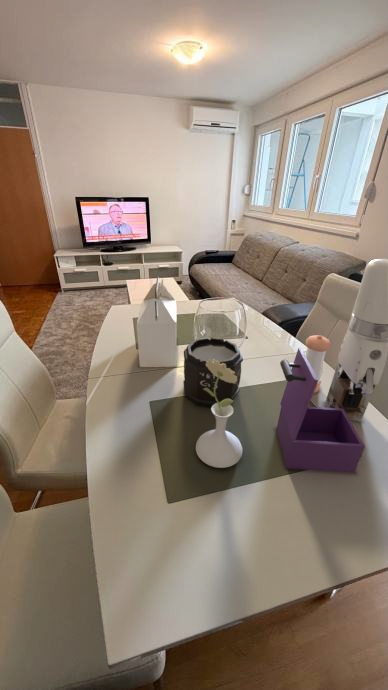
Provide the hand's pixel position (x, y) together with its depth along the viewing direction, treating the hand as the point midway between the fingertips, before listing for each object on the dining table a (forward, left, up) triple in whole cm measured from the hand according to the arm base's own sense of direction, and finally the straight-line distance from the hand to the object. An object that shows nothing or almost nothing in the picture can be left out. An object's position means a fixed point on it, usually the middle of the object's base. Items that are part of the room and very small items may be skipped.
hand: (345, 398), depth 67 cm
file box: (+4, 0, -17) cm, 17 cm away
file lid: (+11, 0, +1) cm, 11 cm away
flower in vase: (+28, +2, -17) cm, 33 cm away
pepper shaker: (-2, -27, -17) cm, 32 cm away
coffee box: (-9, -15, -17) cm, 24 cm away
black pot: (+30, -22, -17) cm, 41 cm away
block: (0, 0, 0) cm, 0 cm away
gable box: (+50, -45, -17) cm, 69 cm away
